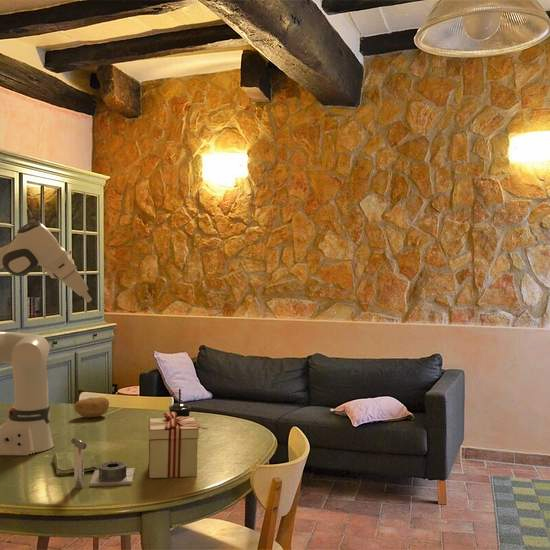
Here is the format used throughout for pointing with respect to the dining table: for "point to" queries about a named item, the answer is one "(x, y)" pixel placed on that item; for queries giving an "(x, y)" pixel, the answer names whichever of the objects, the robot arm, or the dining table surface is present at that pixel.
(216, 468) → the dining table surface
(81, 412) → the potato
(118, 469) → the chuck socket
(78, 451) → the chuck key
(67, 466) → the washcloth
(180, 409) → the drinking cup
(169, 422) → the gift box
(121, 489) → the dining table surface
